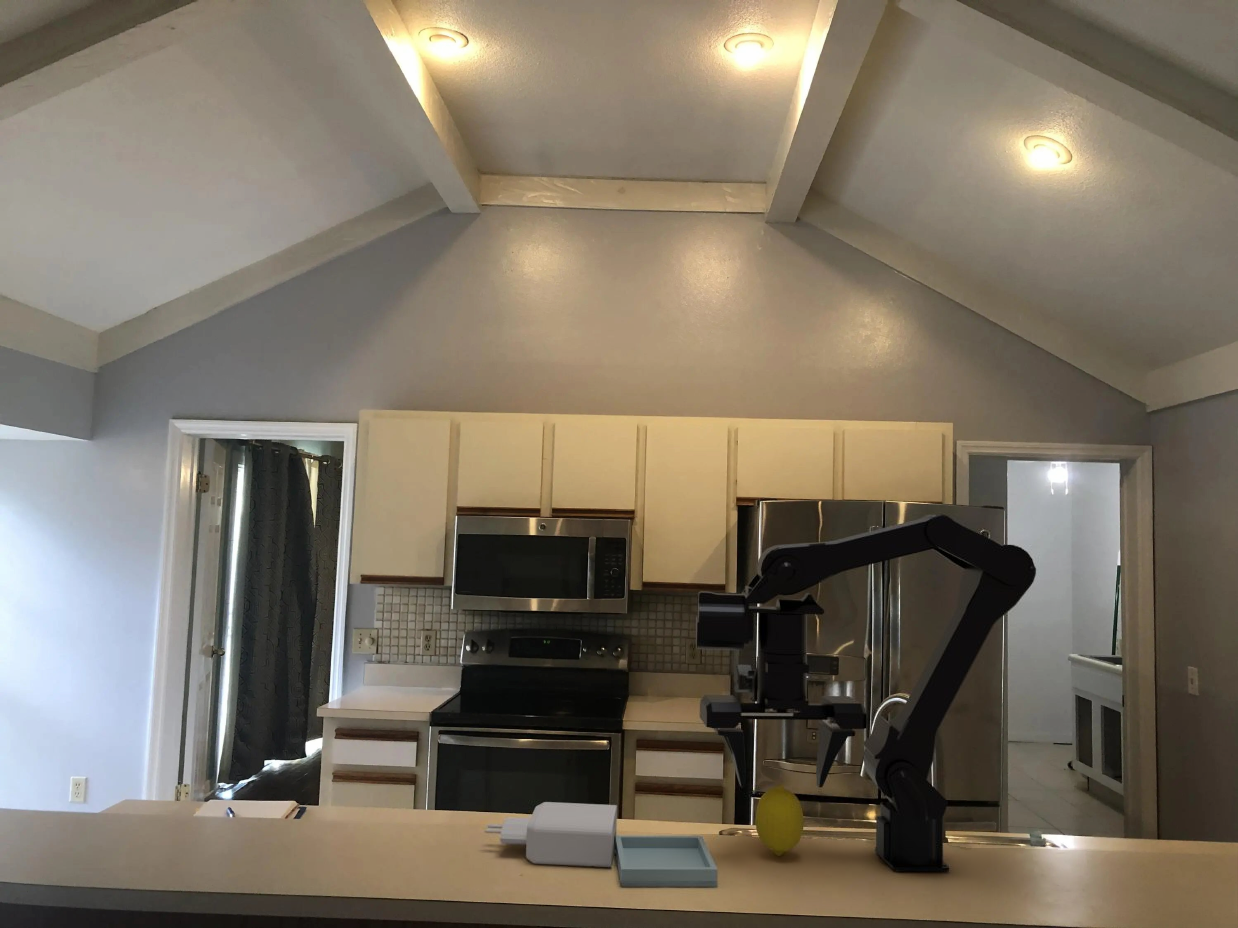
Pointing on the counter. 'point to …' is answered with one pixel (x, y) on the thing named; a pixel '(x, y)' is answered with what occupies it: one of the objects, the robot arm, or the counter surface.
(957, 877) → the counter surface
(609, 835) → the charger
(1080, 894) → the counter surface
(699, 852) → the tray
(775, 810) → the lemon
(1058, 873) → the counter surface
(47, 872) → the counter surface
